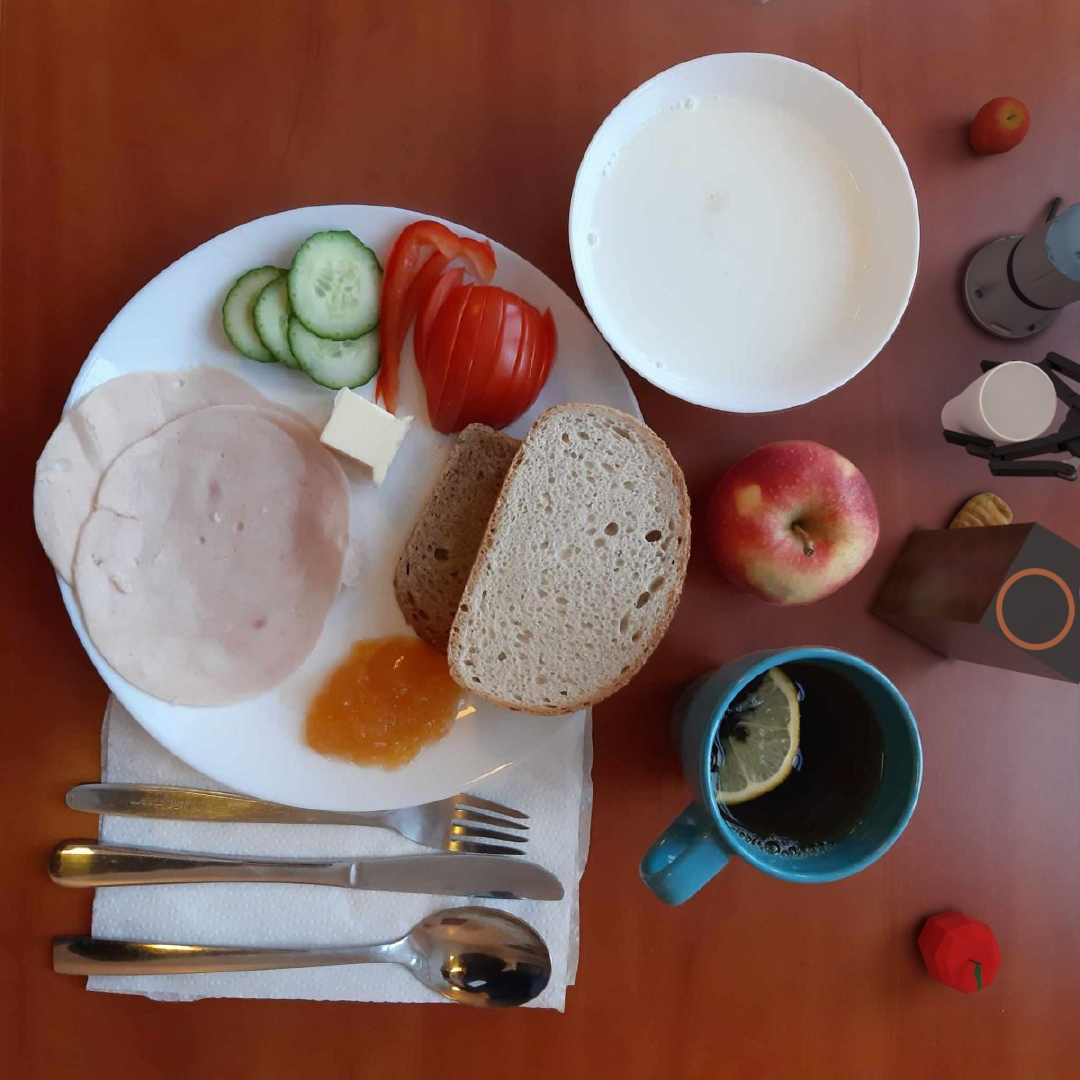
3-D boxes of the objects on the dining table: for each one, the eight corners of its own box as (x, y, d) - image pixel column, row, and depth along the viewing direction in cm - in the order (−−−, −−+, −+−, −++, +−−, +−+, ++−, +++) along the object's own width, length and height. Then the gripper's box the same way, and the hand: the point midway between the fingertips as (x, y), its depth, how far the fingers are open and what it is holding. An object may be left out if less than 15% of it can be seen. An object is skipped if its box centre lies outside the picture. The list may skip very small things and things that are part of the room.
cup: (972, 467, 123) (1031, 457, 110) (912, 428, 123) (964, 413, 109) (1009, 406, 124) (1072, 388, 110) (949, 367, 123) (1005, 344, 110)
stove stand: (917, 529, 129) (1036, 519, 101) (994, 576, 129) (1134, 580, 101) (870, 610, 128) (978, 623, 100) (948, 658, 128) (1077, 684, 101)
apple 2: (1016, 133, 131) (1050, 106, 124) (991, 175, 131) (1022, 150, 123) (975, 105, 131) (1006, 76, 123) (949, 147, 131) (978, 120, 123)
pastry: (962, 561, 129) (977, 560, 125) (934, 526, 129) (948, 524, 125) (1008, 522, 130) (1024, 520, 126) (981, 487, 130) (995, 485, 126)
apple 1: (910, 899, 127) (947, 928, 117) (979, 903, 128) (1021, 932, 118) (905, 971, 127) (941, 1006, 117) (974, 975, 127) (1016, 1010, 117)
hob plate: (1035, 521, 101) (1036, 521, 100) (1133, 582, 101) (1135, 582, 101) (978, 623, 100) (979, 624, 100) (1077, 684, 101) (1079, 684, 100)
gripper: (1106, 535, 105) (932, 484, 120) (1190, 374, 106) (1007, 343, 121) (1101, 512, 100) (919, 461, 115) (1189, 343, 101) (997, 314, 116)
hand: (964, 401), depth 118 cm, fingers closed on cup, 10 cm apart
